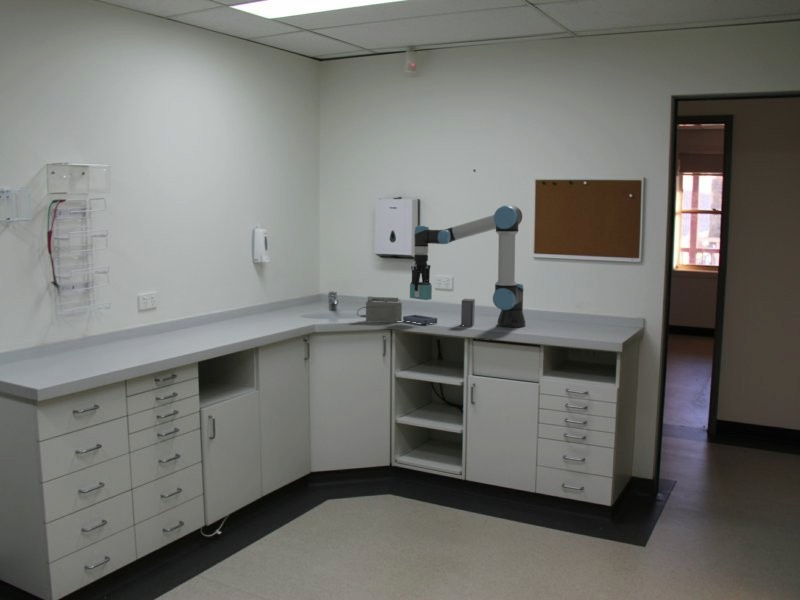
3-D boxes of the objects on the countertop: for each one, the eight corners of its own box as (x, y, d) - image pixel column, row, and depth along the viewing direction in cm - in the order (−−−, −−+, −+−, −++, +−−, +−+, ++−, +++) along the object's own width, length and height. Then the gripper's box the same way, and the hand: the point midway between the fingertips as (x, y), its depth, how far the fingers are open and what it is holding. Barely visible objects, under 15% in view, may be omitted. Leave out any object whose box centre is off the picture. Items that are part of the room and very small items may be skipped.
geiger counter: (402, 296, 416) (357, 295, 418) (401, 297, 409) (356, 296, 412) (402, 321, 417) (357, 320, 420) (400, 323, 411) (355, 321, 414)
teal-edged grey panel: (431, 299, 409) (431, 282, 408) (426, 300, 406) (426, 283, 405) (415, 297, 417) (415, 281, 416) (409, 297, 414) (409, 281, 413)
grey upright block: (474, 324, 409) (474, 299, 407) (472, 326, 401) (472, 300, 399) (463, 324, 410) (463, 298, 408) (461, 326, 403) (461, 300, 401)
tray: (437, 323, 411) (437, 318, 411) (425, 325, 404) (425, 319, 404) (414, 319, 423) (414, 314, 422) (403, 321, 416) (403, 316, 415)
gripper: (426, 253, 417) (425, 294, 420) (405, 254, 405) (404, 297, 408) (436, 253, 412) (436, 295, 415) (415, 255, 400) (414, 298, 403)
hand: (420, 296), depth 412 cm, fingers closed on teal-edged grey panel, 4 cm apart
